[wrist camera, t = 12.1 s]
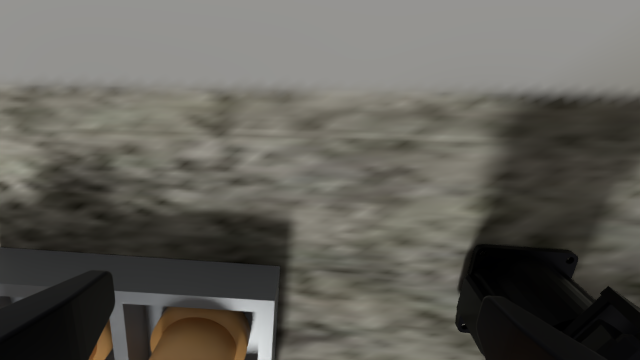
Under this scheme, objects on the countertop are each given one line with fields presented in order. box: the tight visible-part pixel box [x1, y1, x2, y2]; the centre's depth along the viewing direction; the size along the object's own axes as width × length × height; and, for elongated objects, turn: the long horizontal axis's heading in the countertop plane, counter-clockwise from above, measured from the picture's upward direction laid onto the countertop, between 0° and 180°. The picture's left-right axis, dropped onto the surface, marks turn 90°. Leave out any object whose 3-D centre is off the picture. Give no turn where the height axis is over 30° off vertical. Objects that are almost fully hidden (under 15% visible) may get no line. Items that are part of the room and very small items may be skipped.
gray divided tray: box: [0, 247, 280, 360], centre depth 22 cm, size 17×9×6 cm, turn 85°
